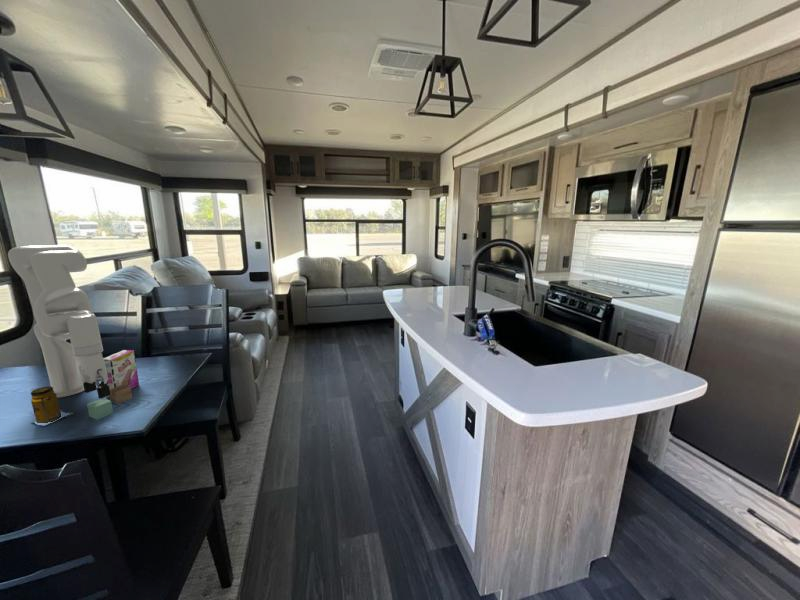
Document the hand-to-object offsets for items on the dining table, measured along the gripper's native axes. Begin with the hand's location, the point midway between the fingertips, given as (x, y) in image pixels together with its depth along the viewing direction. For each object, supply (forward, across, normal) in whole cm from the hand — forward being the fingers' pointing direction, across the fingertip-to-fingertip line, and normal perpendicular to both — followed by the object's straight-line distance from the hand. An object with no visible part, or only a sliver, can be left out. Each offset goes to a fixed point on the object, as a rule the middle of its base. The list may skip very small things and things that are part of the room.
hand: (97, 394), depth 116 cm
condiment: (+8, -13, -9) cm, 18 cm away
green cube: (+9, -1, 0) cm, 9 cm away
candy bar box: (+8, -14, +13) cm, 21 cm away
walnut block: (+8, -7, +9) cm, 14 cm away
